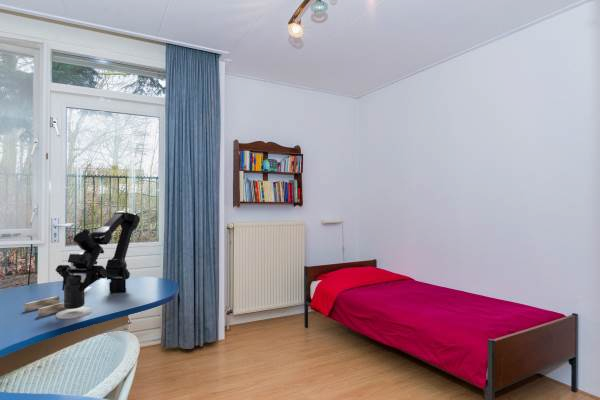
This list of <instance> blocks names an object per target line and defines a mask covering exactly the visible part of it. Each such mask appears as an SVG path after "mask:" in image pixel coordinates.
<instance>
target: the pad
mask: <svg viewBox="0 0 600 400" xmlns="http://www.w3.org/2000/svg"><path fill="white" fill-rule="evenodd" d="M92 312H93V308H92V307H89V306H82V307H80V308H76V309H66V310H63V311H60V312H56V314H55V318H57V319H59V320H70V319H77V318H82V317H85V316H87V315H90V314H91V313H92Z"/></svg>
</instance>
